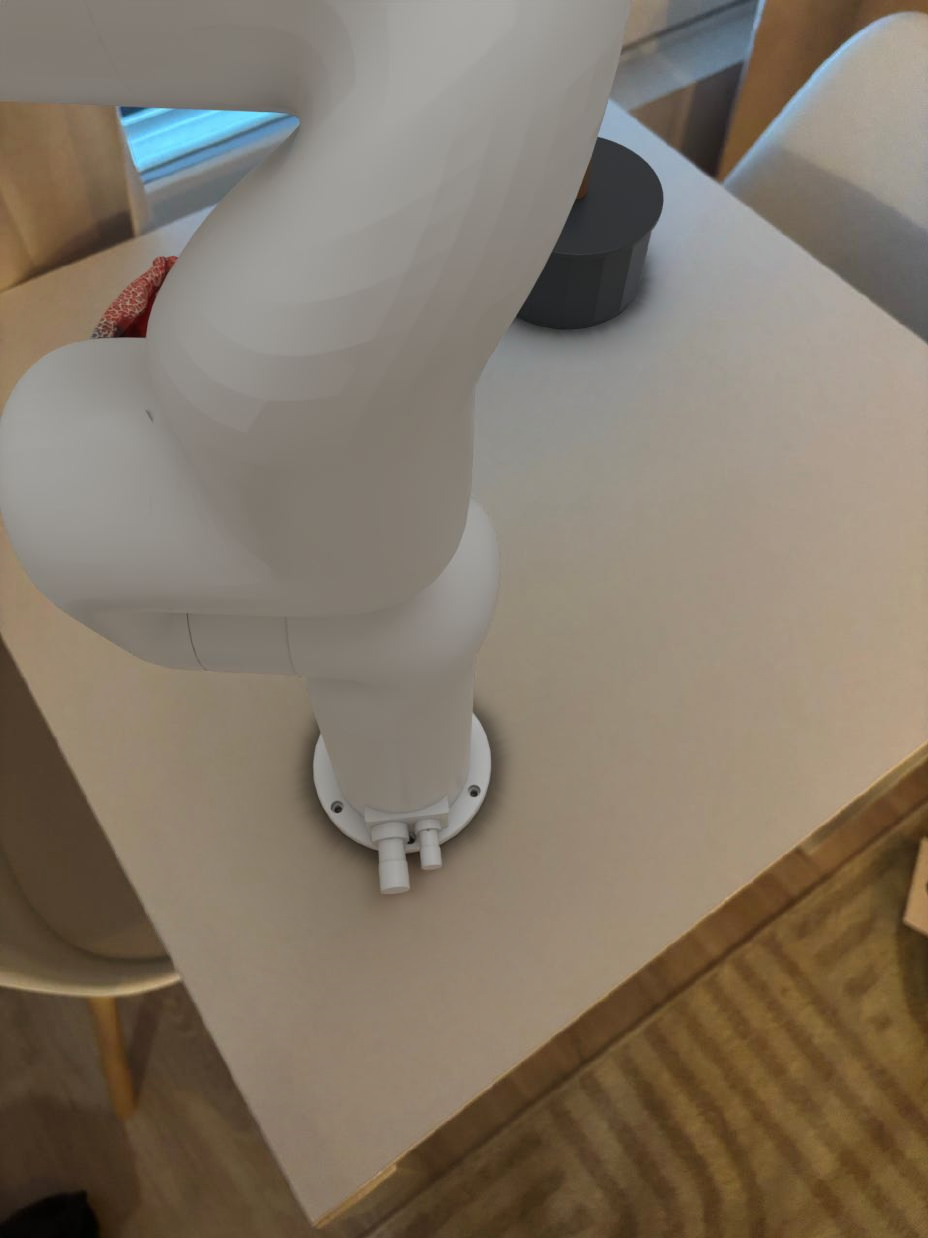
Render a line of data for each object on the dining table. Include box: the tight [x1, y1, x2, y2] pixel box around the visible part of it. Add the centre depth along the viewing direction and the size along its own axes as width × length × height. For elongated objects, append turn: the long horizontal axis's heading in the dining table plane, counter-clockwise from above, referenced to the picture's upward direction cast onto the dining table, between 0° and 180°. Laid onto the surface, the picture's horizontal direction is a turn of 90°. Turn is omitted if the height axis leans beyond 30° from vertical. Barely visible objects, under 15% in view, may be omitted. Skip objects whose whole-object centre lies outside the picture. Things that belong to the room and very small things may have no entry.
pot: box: [516, 230, 653, 330], centre depth 87 cm, size 15×15×8 cm
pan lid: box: [550, 136, 665, 259], centre depth 82 cm, size 16×16×5 cm
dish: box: [90, 255, 179, 339], centre depth 80 cm, size 16×31×5 cm, turn 5°
